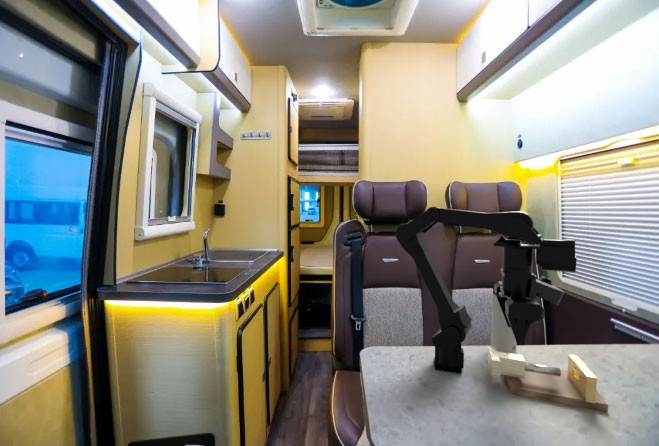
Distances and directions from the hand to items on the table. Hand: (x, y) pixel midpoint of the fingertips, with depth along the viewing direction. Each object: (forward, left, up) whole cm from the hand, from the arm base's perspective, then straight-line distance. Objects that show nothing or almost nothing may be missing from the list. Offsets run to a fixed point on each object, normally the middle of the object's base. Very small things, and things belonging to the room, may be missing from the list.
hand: (514, 334), depth 69 cm
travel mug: (+1, +17, -12) cm, 21 cm away
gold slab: (+13, +1, -10) cm, 17 cm away
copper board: (+7, +3, -12) cm, 14 cm away
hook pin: (+2, +1, -9) cm, 10 cm away
